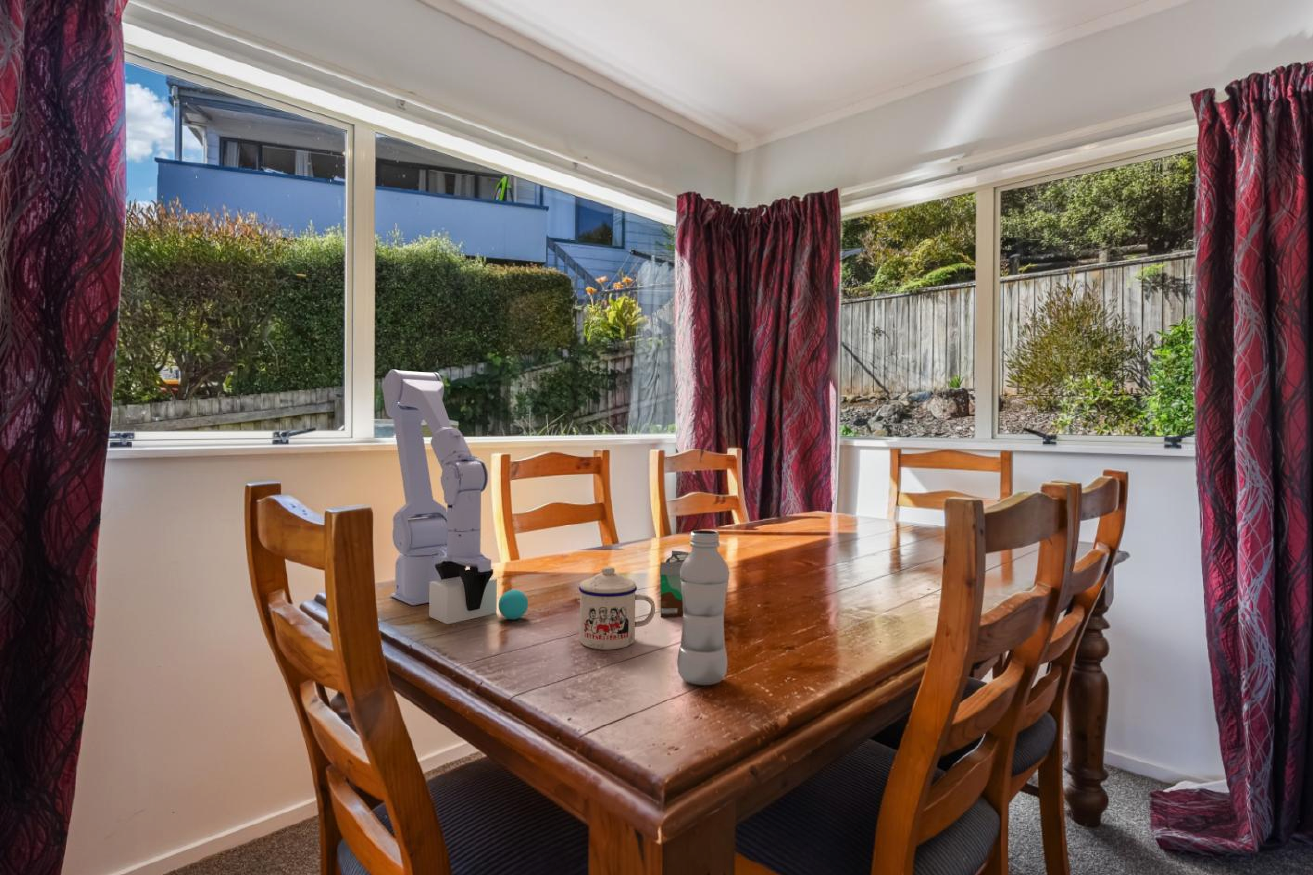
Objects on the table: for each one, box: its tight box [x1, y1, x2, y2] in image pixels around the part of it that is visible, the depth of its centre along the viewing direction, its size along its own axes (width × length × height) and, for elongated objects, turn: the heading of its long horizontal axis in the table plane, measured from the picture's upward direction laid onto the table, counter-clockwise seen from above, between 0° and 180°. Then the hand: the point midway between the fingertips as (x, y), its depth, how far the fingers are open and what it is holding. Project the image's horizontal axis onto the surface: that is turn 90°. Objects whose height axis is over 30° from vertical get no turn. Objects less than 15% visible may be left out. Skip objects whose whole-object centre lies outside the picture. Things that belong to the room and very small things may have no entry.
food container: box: [659, 550, 690, 619], centre depth 122 cm, size 12×6×10 cm, turn 168°
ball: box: [498, 589, 529, 620], centre depth 115 cm, size 5×5×5 cm
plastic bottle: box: [676, 529, 730, 686], centre depth 88 cm, size 6×7×20 cm
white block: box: [428, 576, 498, 625], centre depth 117 cm, size 6×10×6 cm, turn 136°
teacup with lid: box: [578, 566, 656, 651], centre depth 104 cm, size 12×9×12 cm
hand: (463, 605), depth 117 cm, fingers closed on white block, 6 cm apart
